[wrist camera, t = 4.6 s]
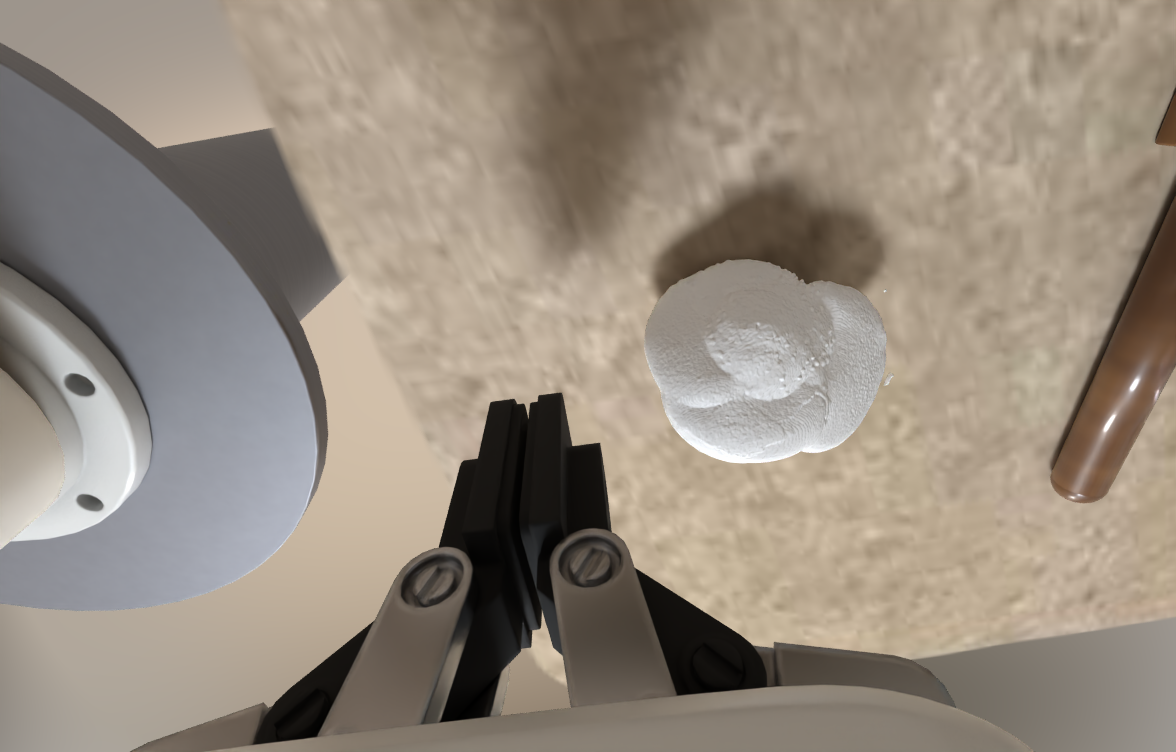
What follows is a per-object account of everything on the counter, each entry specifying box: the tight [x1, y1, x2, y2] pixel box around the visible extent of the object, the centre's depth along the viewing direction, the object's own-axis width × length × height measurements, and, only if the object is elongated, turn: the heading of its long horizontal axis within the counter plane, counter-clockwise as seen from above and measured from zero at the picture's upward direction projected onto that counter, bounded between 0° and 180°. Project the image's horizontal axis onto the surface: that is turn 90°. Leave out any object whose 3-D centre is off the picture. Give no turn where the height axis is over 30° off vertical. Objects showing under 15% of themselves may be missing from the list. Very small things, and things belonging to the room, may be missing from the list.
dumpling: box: [644, 259, 894, 463], centre depth 14 cm, size 7×5×4 cm
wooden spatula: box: [1051, 92, 1176, 503], centre depth 15 cm, size 17×3×2 cm, turn 8°
